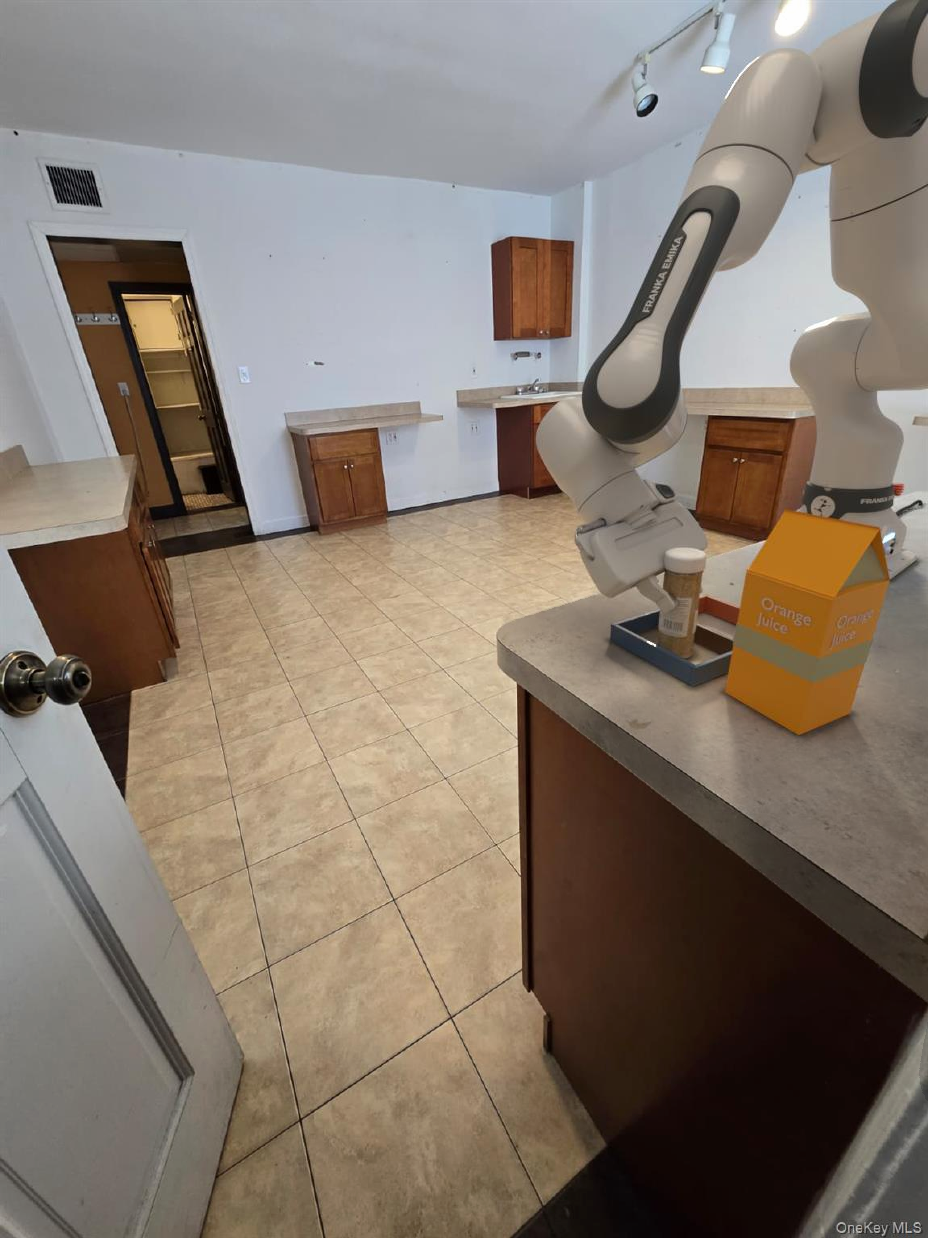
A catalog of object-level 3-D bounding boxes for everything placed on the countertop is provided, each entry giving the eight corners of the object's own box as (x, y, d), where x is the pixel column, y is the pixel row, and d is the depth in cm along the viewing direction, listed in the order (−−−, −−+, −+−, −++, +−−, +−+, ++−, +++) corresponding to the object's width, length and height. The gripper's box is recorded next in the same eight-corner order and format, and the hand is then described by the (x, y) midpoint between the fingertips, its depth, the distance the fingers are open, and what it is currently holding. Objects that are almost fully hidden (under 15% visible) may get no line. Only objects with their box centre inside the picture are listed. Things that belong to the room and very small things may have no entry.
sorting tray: (703, 609, 77) (705, 594, 76) (794, 646, 65) (798, 628, 64) (609, 640, 70) (610, 623, 69) (693, 687, 58) (695, 668, 57)
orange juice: (798, 736, 50) (850, 535, 41) (723, 692, 57) (754, 514, 49) (851, 713, 52) (910, 520, 44) (773, 674, 60) (810, 502, 51)
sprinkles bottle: (700, 653, 65) (715, 551, 60) (677, 664, 63) (691, 560, 57) (669, 640, 69) (680, 543, 63) (647, 651, 67) (656, 552, 61)
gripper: (584, 513, 57) (656, 617, 54) (679, 483, 69) (743, 567, 66) (553, 545, 62) (617, 642, 59) (646, 512, 74) (704, 591, 71)
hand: (684, 602), depth 62 cm, fingers closed on sprinkles bottle, 4 cm apart
